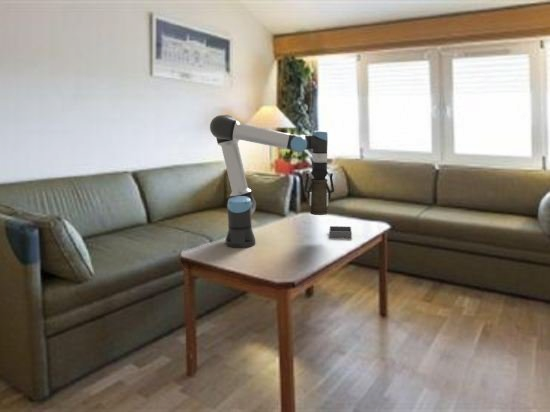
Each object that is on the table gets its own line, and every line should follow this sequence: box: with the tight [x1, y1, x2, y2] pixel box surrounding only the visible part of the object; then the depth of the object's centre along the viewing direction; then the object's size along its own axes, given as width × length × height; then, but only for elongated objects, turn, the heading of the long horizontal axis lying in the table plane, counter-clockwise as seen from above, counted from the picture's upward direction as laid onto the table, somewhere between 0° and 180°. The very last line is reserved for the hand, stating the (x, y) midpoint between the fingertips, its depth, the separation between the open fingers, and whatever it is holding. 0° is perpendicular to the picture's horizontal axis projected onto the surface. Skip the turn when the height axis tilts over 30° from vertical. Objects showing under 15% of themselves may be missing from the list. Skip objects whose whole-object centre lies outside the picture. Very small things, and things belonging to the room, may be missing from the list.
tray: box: [328, 225, 353, 239], centre depth 247 cm, size 12×12×4 cm
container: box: [309, 178, 328, 216], centre depth 238 cm, size 9×9×18 cm
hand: (318, 205), depth 239 cm, fingers closed on container, 8 cm apart
